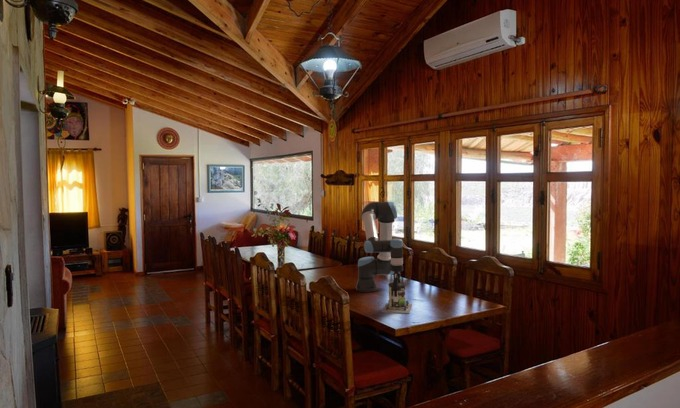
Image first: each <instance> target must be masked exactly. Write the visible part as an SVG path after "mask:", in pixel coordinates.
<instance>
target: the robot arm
mask: <svg viewBox="0 0 680 408" xmlns="http://www.w3.org/2000/svg"><path fill="white" fill-rule="evenodd" d="M360 216H361V221H362V222H363V226H364V232H365V233H364V234H365V237H366V239H365V241H364V245H363V246H364V252H365V253H367V254H369V253H370V254H377V253H378V255H377V256H376V258H375V257H374V256H364V257H361V258H359V259H358V260H357V271H358V272H357V282H356V285H355V291H356V292H361V293H372V292H376V291H377V290H378V286H377V282H376V280H375V276H389V275H392V276H393V281H392V283H393V290H392V291H393V298H394V302H398V282H400V283H402V281H401V278H402V277H401V272H403V271H404V265H403V264H404V244H403V243H404V241H403V239H402V238H393V223H395V220H396V219H397V218H398V210H397V206H396V203H395V202H394V201H376V202H375V201H373V202H369V203H368V204H366V205H365V206H364V207H363V209H362V211H361V214H360ZM376 220H377V222H378V223H379V235H378V231H377V224H376Z"/></svg>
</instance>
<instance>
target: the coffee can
mask: <svg viewBox="0 0 680 408" xmlns="http://www.w3.org/2000/svg"><path fill="white" fill-rule="evenodd" d="M387 286H388V300H389V307H390V308H393V309H403V308H404V305H406V301H407V300H406V283H405V282H401V283H400V282H398V302H394V298H393V291H392V290H393V282H389V283H388V285H387Z"/></svg>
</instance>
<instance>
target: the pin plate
mask: <svg viewBox="0 0 680 408" xmlns="http://www.w3.org/2000/svg"><path fill="white" fill-rule="evenodd" d="M405 301H406V305H404V308H403V309H393V308H390V307H389V299H388V301H387V302H386V303H385V304H384V307H383V308H382V311H381V312H382V313H387V314H389V313H391V314H392V313H393V314H410V313H411V310H412V307H413V305H412V303H410V302H409V300H405Z"/></svg>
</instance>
